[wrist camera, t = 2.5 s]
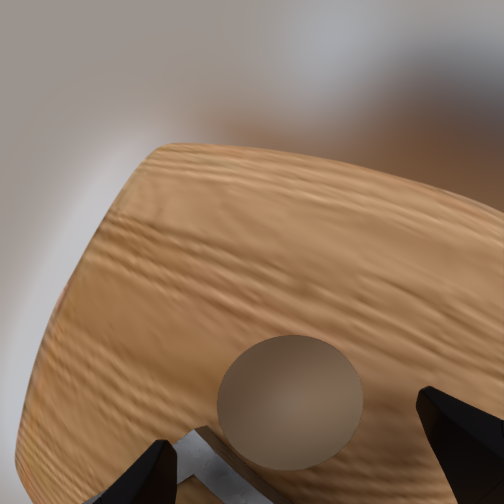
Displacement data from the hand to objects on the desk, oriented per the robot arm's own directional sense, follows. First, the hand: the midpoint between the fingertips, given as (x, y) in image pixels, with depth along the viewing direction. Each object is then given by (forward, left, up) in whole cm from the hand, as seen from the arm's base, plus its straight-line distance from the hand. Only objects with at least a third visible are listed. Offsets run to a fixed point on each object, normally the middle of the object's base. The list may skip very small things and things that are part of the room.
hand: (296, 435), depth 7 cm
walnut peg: (+1, -1, -9) cm, 9 cm away
